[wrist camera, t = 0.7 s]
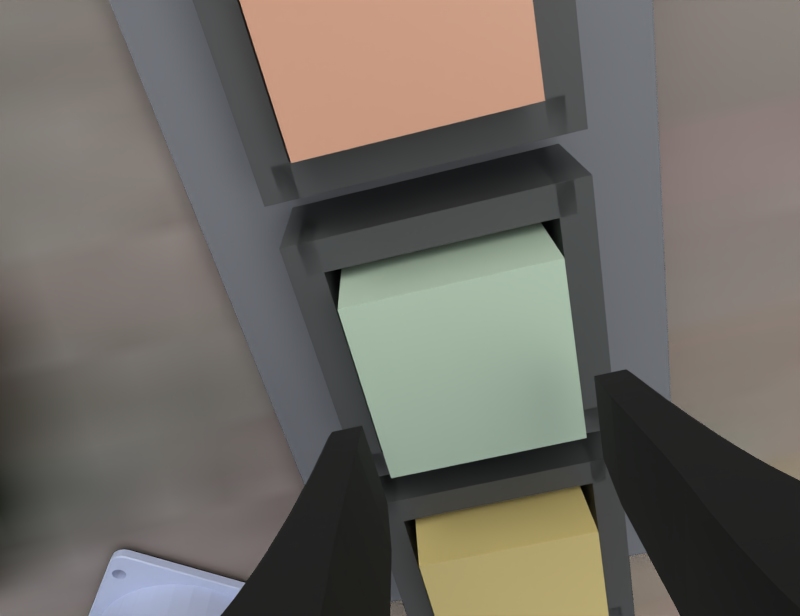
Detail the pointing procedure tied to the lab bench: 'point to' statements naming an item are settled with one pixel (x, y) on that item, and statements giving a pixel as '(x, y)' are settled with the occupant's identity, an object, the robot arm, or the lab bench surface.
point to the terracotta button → (390, 66)
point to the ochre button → (514, 558)
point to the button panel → (427, 236)
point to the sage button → (465, 349)
